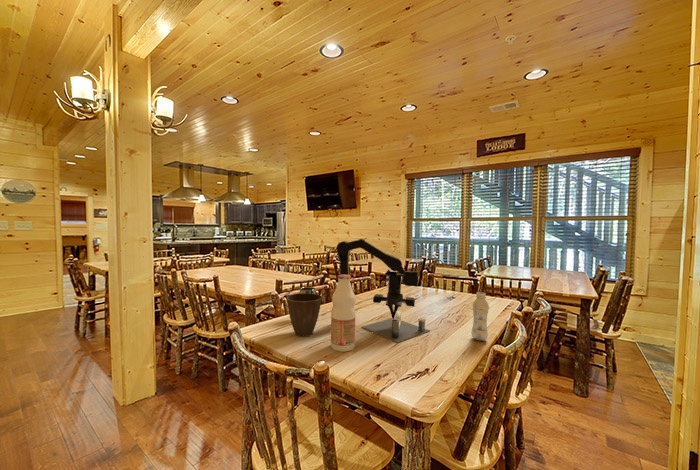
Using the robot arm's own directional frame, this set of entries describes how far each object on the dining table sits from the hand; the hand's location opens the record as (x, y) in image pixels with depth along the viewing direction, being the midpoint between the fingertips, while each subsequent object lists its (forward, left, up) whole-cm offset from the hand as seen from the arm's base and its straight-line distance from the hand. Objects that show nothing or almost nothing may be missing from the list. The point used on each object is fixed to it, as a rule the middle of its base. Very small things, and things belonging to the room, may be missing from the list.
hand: (393, 318), depth 134 cm
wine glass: (-24, +36, -5) cm, 44 cm away
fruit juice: (-31, -2, -5) cm, 32 cm away
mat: (0, -2, -5) cm, 5 cm away
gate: (-1, -3, -4) cm, 5 cm away
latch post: (+7, -11, -5) cm, 14 cm away
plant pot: (-36, +19, -5) cm, 41 cm away
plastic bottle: (+20, -31, -5) cm, 37 cm away
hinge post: (-8, -9, -5) cm, 13 cm away
